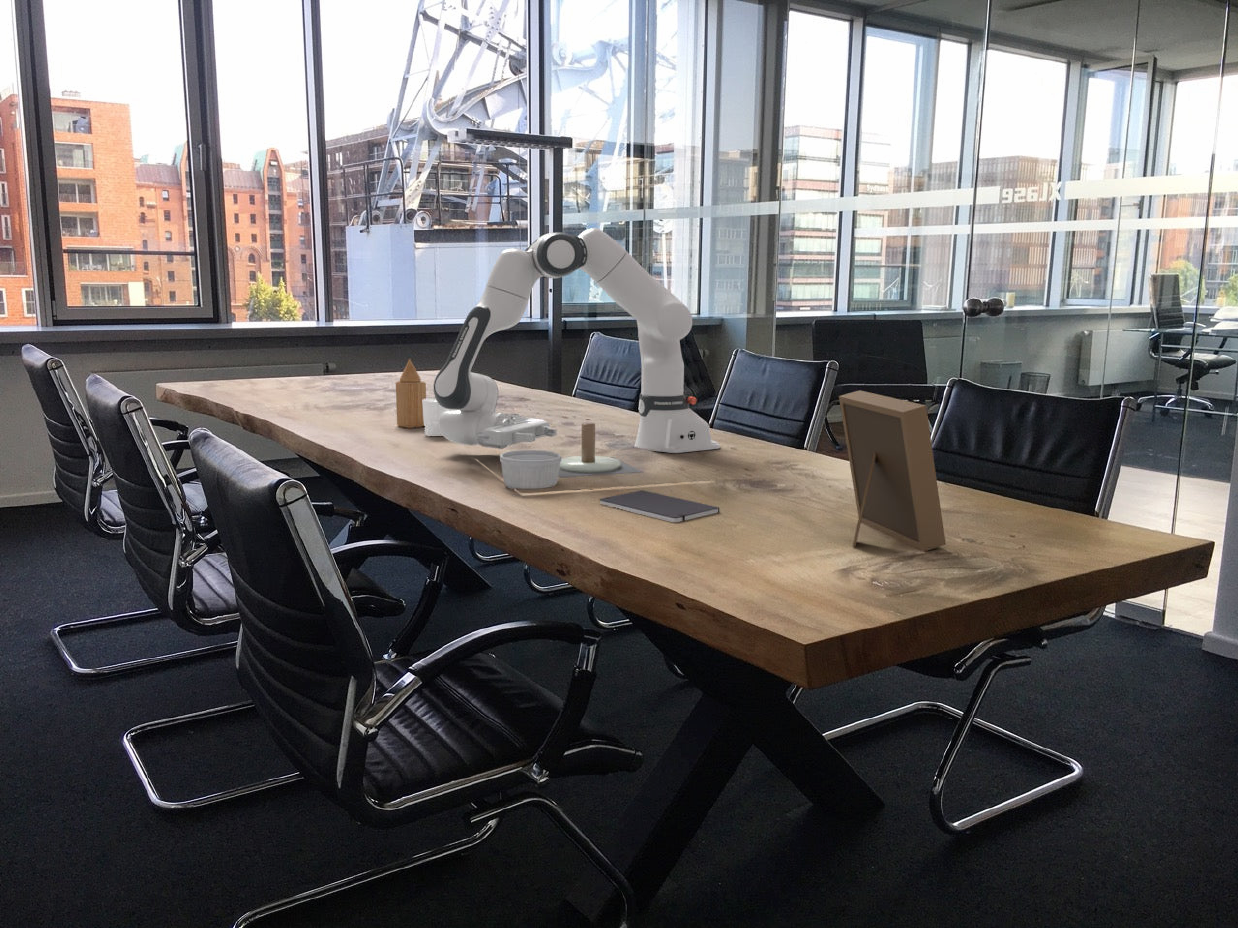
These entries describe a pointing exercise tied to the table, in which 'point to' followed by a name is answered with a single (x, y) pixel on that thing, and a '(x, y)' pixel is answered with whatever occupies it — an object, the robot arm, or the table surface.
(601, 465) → the lid
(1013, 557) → the table surface
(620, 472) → the mat
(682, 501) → the notebook
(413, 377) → the decorative item
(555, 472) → the ramekin
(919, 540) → the photo frame
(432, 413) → the white cup
